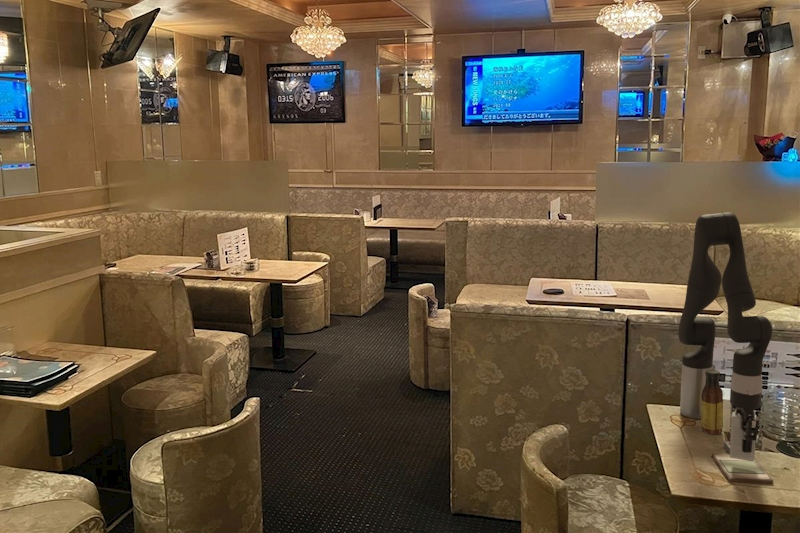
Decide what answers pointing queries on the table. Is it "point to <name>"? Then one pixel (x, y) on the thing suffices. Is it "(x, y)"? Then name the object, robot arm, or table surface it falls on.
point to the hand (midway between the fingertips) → (742, 446)
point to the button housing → (727, 446)
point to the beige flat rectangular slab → (741, 470)
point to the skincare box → (739, 441)
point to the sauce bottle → (712, 404)
